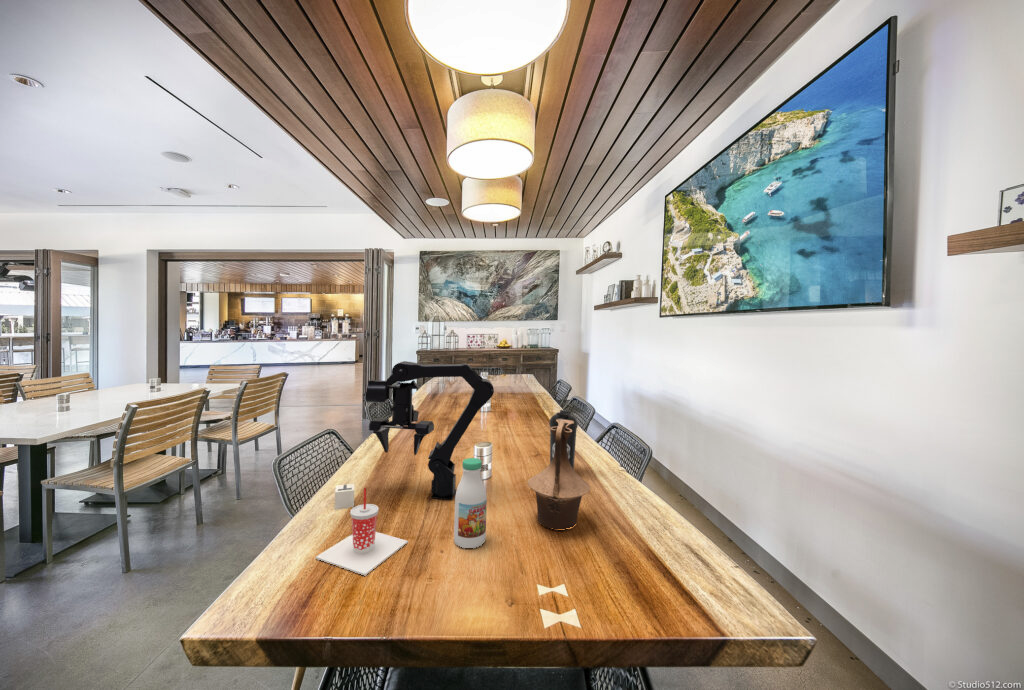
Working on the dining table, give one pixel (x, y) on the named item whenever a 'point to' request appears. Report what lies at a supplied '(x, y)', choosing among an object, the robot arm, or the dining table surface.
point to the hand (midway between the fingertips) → (401, 453)
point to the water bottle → (572, 438)
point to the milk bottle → (470, 506)
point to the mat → (361, 562)
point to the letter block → (344, 496)
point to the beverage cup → (364, 526)
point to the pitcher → (559, 485)
